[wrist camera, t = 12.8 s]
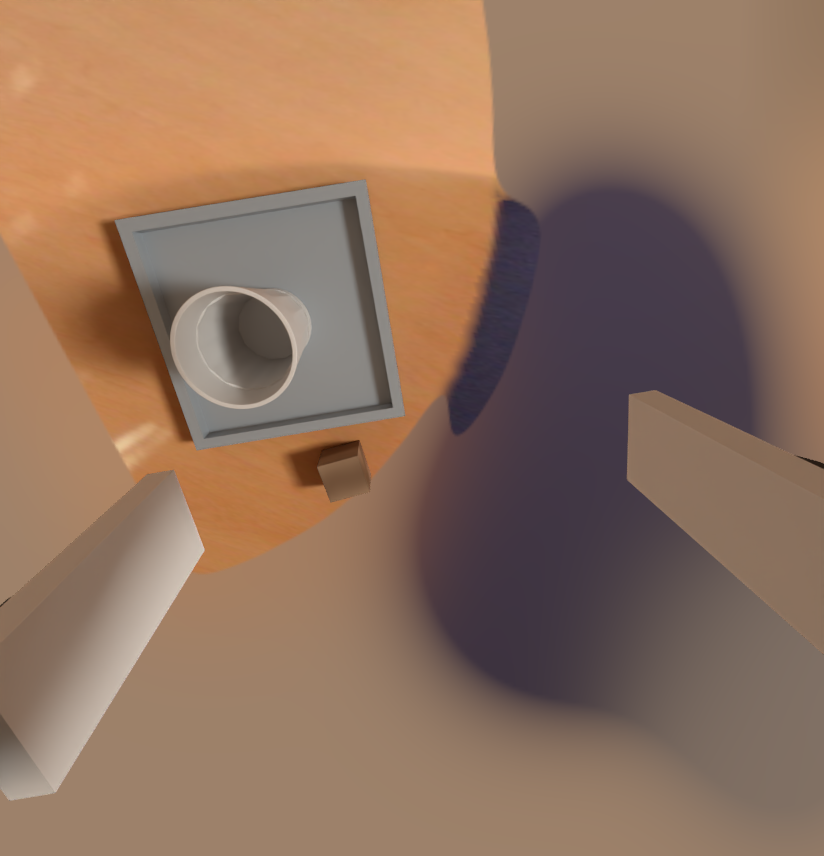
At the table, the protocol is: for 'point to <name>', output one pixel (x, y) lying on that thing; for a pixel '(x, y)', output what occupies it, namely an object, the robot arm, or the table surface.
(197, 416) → the tray
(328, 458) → the walnut block
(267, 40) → the table surface
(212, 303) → the cup
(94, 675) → the robot arm
